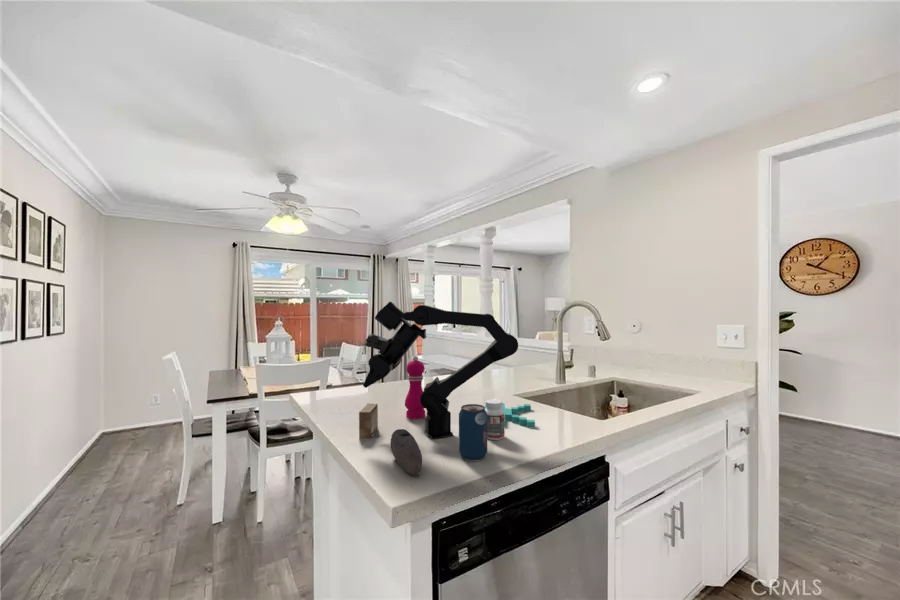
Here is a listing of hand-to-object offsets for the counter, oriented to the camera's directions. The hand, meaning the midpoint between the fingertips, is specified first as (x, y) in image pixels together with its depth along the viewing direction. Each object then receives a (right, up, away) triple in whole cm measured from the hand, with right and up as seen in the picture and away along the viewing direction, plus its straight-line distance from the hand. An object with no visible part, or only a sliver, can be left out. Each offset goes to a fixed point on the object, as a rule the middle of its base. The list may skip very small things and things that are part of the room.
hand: (368, 383), depth 110 cm
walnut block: (0, -15, 0) cm, 15 cm away
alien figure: (+40, -15, +15) cm, 46 cm away
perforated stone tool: (+14, -15, -23) cm, 30 cm away
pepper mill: (+12, -15, +16) cm, 25 cm away
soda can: (+29, -14, -17) cm, 37 cm away
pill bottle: (+36, -14, -4) cm, 39 cm away
